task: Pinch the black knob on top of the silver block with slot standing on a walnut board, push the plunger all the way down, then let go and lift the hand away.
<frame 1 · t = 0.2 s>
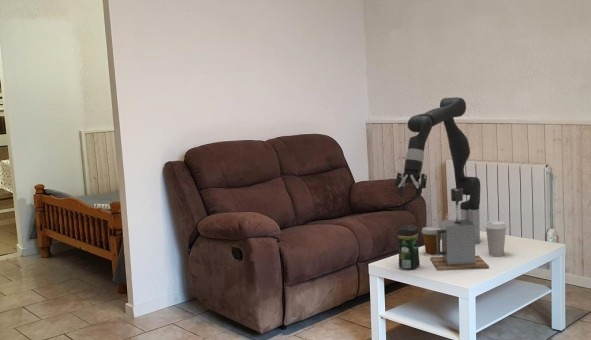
hand: (408, 197, 265), 32 cm above the table, tool tilted 20°, fingers open, 8 cm apart
walnut board: (458, 263, 273), on the table
plunger: (457, 211, 270), point 24 cm above the table, slide at 8.0 cm
disposable coffee cup: (432, 253, 293), on the table
silver block with slot: (454, 242, 272), on the walnut board, point 10 cm above the table
coffee cup: (496, 255, 284), on the table
coffee jar: (409, 267, 272), on the table
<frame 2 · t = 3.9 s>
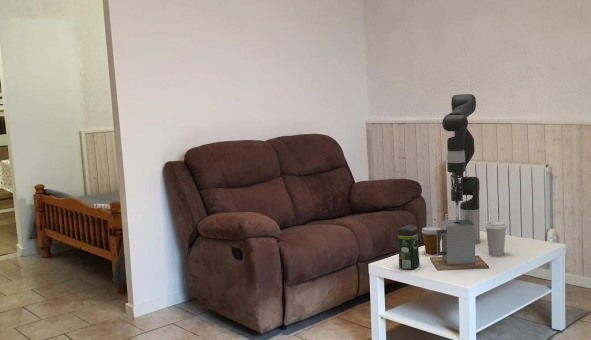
hand: (456, 199, 269), 29 cm above the table, tool pointing down, fingers closed on plunger, 5 cm apart
plunger: (457, 211, 270), point 24 cm above the table, slide at 8.0 cm, touching gripper
everything else where it was.
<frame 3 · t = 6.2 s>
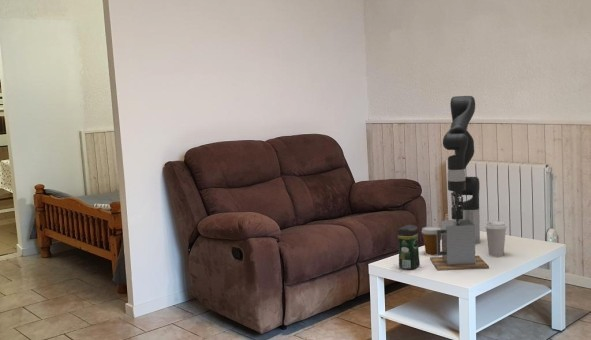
hand: (457, 217, 270), 21 cm above the table, tool pointing down, fingers closed on plunger, 5 cm apart
plunger: (457, 229, 271), point 15 cm above the table, slide at -0.1 cm, touching gripper
everything else where it was.
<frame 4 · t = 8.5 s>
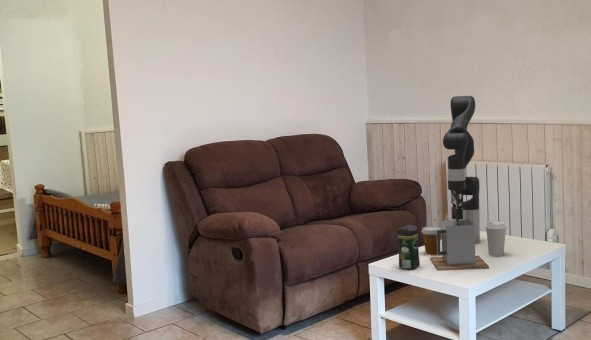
hand: (457, 215, 270), 22 cm above the table, tool pointing down, fingers open, 8 cm apart
plunger: (457, 229, 271), point 16 cm above the table, slide at -0.1 cm
everything else where it was.
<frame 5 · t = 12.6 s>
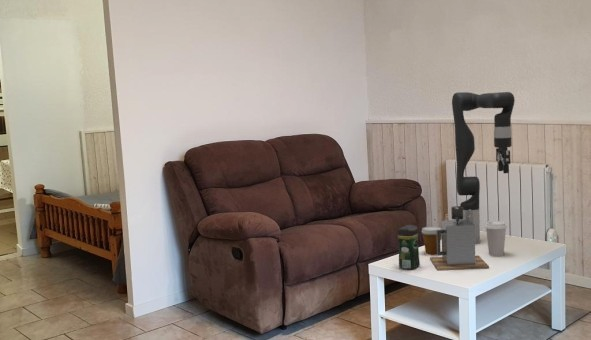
hand: (503, 172, 281), 38 cm above the table, tool pointing down, fingers open, 8 cm apart
nothing on the table moved.
at the end: plunger slide at -0.1 cm; the gripper is holding nothing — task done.
